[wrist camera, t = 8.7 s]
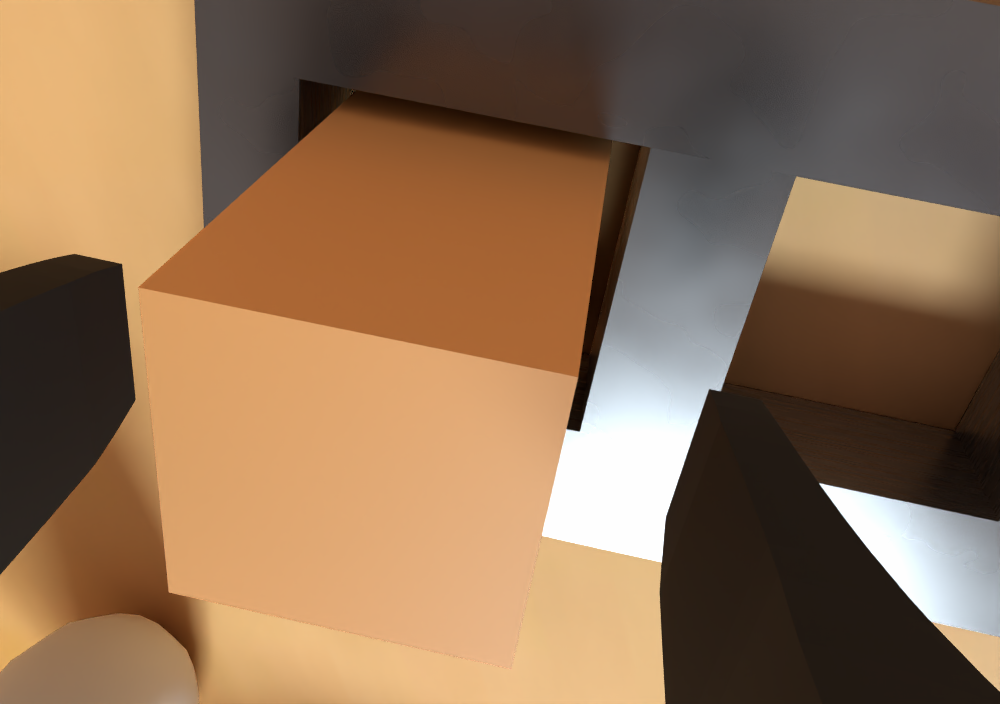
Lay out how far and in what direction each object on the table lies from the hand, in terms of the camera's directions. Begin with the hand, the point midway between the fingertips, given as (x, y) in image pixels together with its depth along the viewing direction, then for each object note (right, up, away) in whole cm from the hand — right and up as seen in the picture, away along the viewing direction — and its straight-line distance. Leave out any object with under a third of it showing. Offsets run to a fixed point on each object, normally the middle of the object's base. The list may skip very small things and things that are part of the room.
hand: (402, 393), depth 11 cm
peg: (+1, +3, +5) cm, 6 cm away
